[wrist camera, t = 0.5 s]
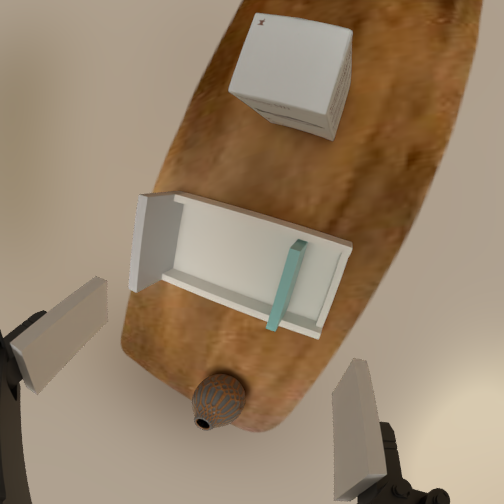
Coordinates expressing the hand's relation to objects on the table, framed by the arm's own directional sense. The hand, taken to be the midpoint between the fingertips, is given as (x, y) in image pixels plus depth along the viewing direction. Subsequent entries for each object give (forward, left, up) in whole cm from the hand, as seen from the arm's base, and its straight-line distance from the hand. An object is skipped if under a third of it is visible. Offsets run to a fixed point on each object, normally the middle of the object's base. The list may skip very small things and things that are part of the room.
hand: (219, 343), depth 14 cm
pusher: (+1, +2, -19) cm, 19 cm away
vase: (+14, +17, -20) cm, 30 cm away
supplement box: (-7, -15, -20) cm, 26 cm away
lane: (+5, -1, -20) cm, 21 cm away
